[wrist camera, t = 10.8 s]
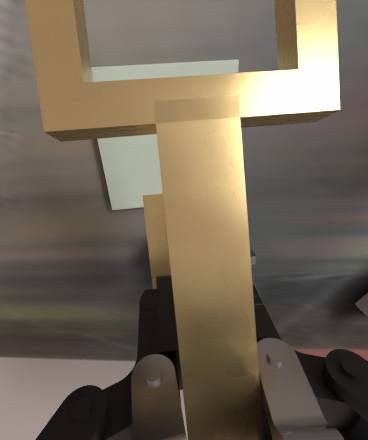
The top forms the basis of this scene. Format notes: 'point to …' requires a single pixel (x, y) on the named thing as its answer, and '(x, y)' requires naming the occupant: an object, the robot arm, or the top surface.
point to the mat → (143, 144)
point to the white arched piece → (363, 304)
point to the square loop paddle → (196, 182)
